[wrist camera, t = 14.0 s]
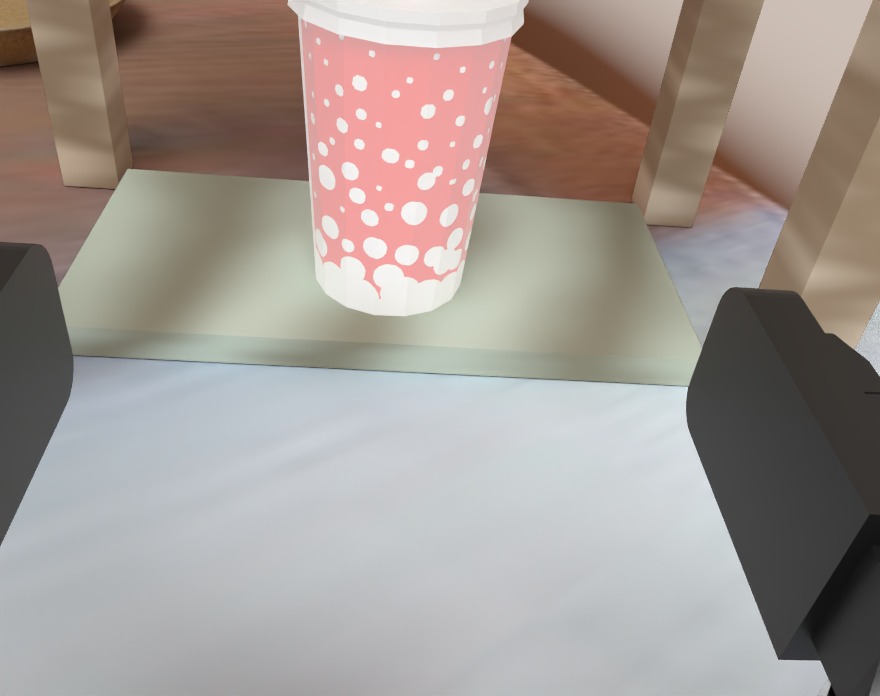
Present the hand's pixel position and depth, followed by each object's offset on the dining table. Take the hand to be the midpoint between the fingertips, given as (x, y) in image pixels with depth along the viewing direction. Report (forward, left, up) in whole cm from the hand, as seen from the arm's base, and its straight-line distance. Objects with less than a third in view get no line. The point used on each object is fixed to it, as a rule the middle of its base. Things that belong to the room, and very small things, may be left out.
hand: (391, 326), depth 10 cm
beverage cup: (0, +14, -9) cm, 16 cm away
